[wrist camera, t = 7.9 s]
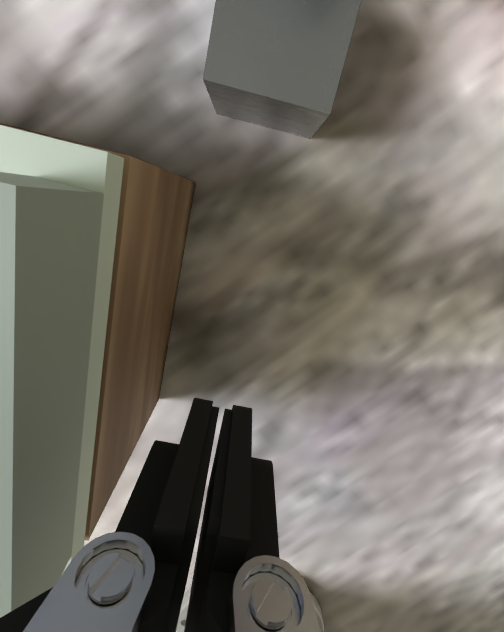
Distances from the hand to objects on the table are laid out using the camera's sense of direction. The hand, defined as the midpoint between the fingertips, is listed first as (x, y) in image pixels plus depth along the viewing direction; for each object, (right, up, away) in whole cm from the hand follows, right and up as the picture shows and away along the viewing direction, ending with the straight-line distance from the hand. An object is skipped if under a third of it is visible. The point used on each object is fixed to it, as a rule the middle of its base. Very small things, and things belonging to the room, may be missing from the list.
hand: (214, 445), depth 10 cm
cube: (+2, +16, +7) cm, 18 cm away
